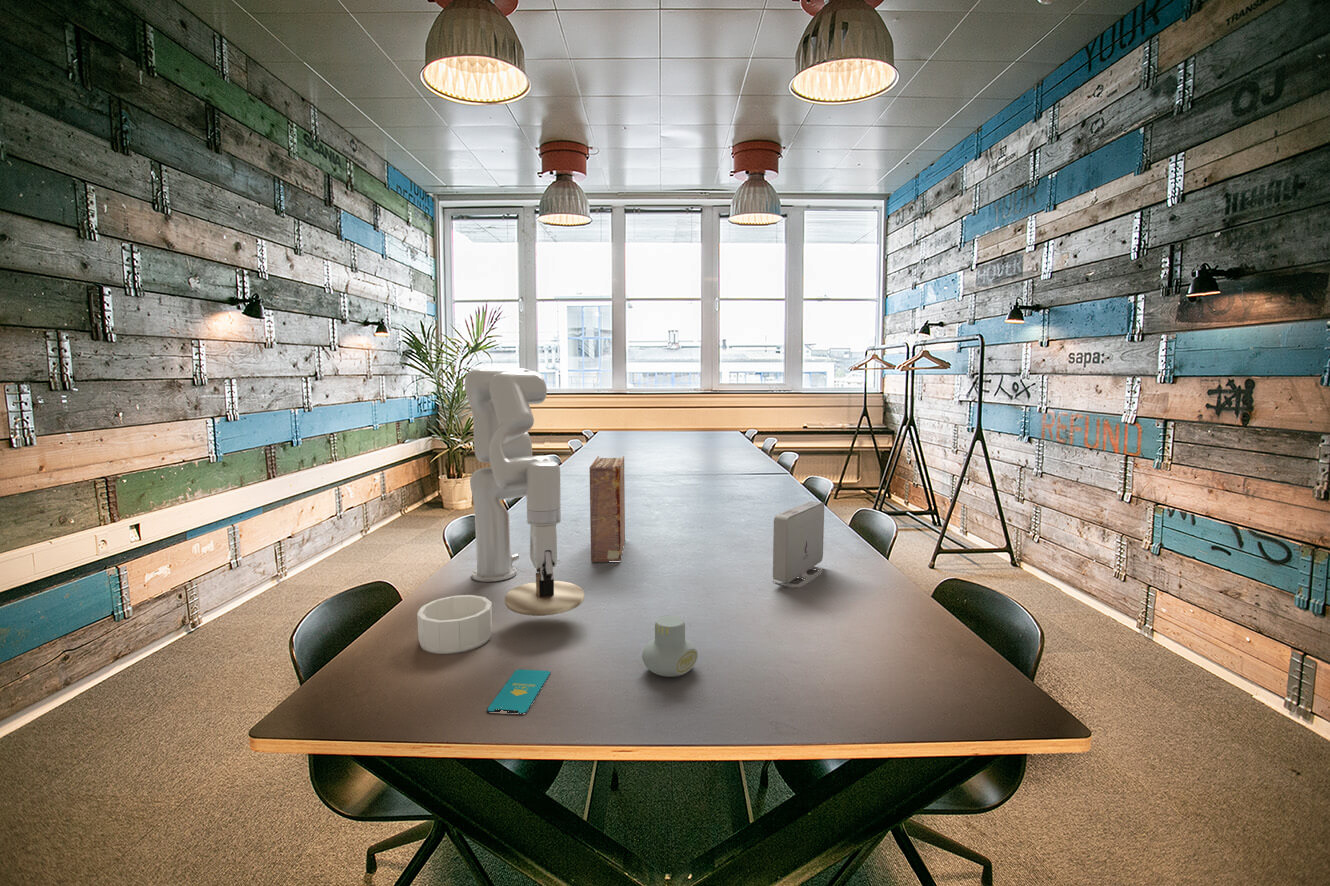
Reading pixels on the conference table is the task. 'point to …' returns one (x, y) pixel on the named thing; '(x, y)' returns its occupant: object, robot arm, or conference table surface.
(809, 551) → the network device
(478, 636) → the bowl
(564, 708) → the conference table surface
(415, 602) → the conference table surface
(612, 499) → the book
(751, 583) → the conference table surface
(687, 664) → the air freshener
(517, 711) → the smartphone
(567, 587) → the lid
